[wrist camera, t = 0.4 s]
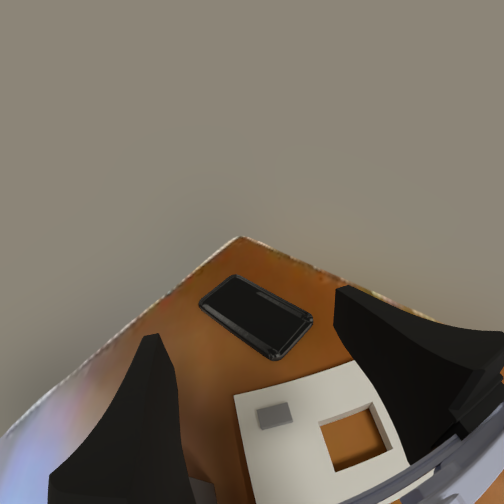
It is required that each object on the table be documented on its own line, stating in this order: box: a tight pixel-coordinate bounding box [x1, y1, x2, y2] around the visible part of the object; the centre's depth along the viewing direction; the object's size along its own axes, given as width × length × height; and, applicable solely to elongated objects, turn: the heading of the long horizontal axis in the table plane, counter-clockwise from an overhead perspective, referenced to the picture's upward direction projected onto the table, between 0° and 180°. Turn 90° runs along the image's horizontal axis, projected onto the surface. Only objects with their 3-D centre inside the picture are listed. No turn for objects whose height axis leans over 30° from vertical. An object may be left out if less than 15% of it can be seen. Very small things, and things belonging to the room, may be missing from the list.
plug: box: [189, 477, 217, 504], centre depth 16 cm, size 4×4×8 cm
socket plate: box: [234, 360, 436, 504], centre depth 20 cm, size 16×20×3 cm
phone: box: [199, 274, 313, 361], centre depth 37 cm, size 8×1×15 cm
